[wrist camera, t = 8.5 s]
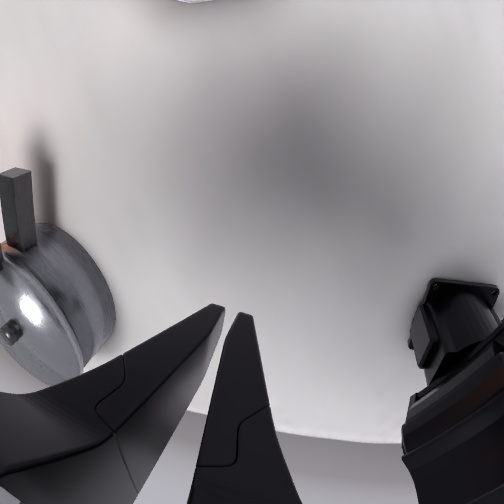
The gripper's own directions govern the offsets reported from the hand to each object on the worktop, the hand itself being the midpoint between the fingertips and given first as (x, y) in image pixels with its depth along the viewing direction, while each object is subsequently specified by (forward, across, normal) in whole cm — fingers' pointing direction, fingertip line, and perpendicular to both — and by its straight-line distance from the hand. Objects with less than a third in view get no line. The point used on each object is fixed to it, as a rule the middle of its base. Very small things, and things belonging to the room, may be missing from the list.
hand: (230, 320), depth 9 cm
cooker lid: (+7, +21, +11) cm, 25 cm away
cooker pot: (+13, +21, +14) cm, 28 cm away
